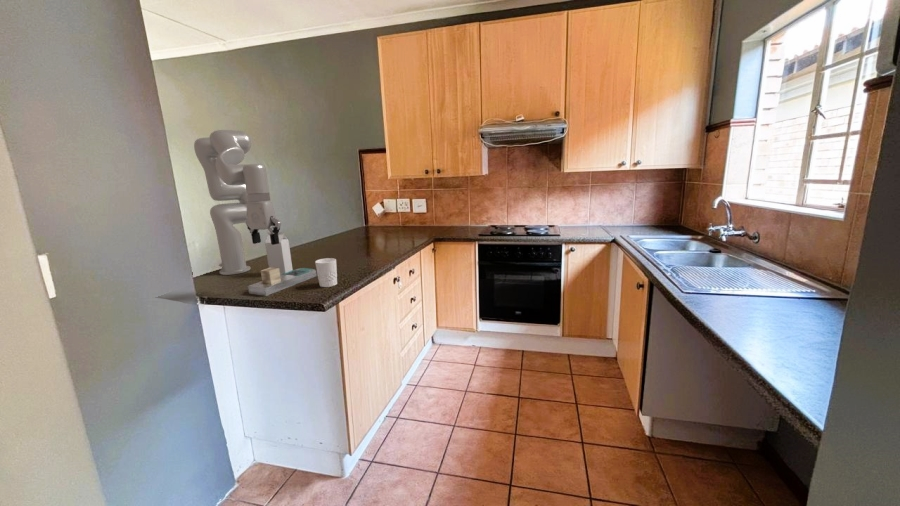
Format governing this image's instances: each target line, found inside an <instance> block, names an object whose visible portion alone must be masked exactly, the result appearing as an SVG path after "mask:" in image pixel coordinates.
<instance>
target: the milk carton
mask: <svg viewBox="0 0 900 506" xmlns="http://www.w3.org/2000/svg"><path fill="white" fill-rule="evenodd" d="M284 232H285V231H279V233H278V237H279V244H275V245H272V244H271V239H270V234H271V233H270V231H268V232H267V236H266V238H265V239H266V240H265V242H264V245H265V251H266V258H267V264H268V268H270V267H271V268H279V271H280V275H281V274H283V273H286V272H289V271H292V270H294V269H293V264H292V255H291V248H290V241H289V238H288V237H287V235H285V233H284Z"/></svg>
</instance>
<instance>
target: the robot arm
mask: <svg viewBox="0 0 900 506" xmlns="http://www.w3.org/2000/svg"><path fill="white" fill-rule="evenodd" d="M193 146H194V153H195V156H196V158H197V160H198V161H199V163H200V165H201V166H202V168H203V171H204V175H205V176H204V177H205V178H206V179H205V180H206V183H207V189H208V192H209V196H210V197H211V199H212V200H213V201H218V202H223V201H224V202H225V201H238V202H229V203H219V204H215V205H213V206H212V207H211V208H210V210H209V214H210V218H211V221H212V224H213V226H214V230H215V234H216V239H217V245H218V250H219V255H220V260H221V262H220V263H219V264H218V266H219V267H221V269H220V270H219V274H220V275H222V276H228V275H229V276H230V275H231V276H232V275H238V274H243V273H246V272H249V271H250V270H251V266H250V265H247V261H246V257H245V250H244V249H245V248H244V244H243V239H242V233H241V231H240V230H238V228H236V227H235V226H234V225H237V224H246V225H245V226H246V227H247V230H248V231H249V233H250V236H251V240H252V244H255V245H256V244H260V243H261V242H262V239H261V235H260V230H261V231H263V230H268V232H270V233H271V234H270V239H271V244H272V245H275V244H279V237H278V233H279V232H280V230H281V226H282V222H281V221H280V220H278V219H277V218H276V213H275V210H274V205H273V203H272V201H271V194H270V188H269V182H268V176H267V175H268V174H267V168H266V166H265V165H264V164H261V163H251V164H250V163H249V164H245V163H243V164H241V163H242V162H243V160H244V159H245V155H246V154H247V153H248V152H249V151H250V149H251V147H252V143H251V138H250V137H249V135H248V134H247V133H246V132H244V131H242V130H232V129H231V130H229V129H228V130H227V129H217V130H214V131H213V132H211V133H210V135H209V137H200V138H197V139H196V140H195V141H194V143H193Z"/></svg>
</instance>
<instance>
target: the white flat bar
mask: <svg viewBox="0 0 900 506" xmlns="http://www.w3.org/2000/svg"><path fill="white" fill-rule="evenodd" d="M280 277H281V281H280V282H277V283H274V284H271V285H270V284H263V282H262V281H258V282H255V283H252V284H250V285H247V288H248V294H250V295H255V296H256V295H257V296H265V297H267V296H270V295H272V294H276V293H278V292H280V291H282V290H284V289H287V288H290V287H293V286H295V285H298V284H300V283H303V282H305V281H308V280H310V279H314V278H315V277H318V276H317V270H316V268H315V269H313V268H307V267H302V268H301V267H300V268H296V269H293V270H292V271H289V272H286V273H283V274H281V275H280Z"/></svg>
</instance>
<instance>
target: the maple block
mask: <svg viewBox="0 0 900 506" xmlns="http://www.w3.org/2000/svg"><path fill="white" fill-rule="evenodd" d="M260 275H261V280H262V282H263V284H270V285H271V284H274V283H277V282H280V281H281V277H280V271H279V268H271V267H270V268H269V267H268V268H265V269H262V270H260Z"/></svg>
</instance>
